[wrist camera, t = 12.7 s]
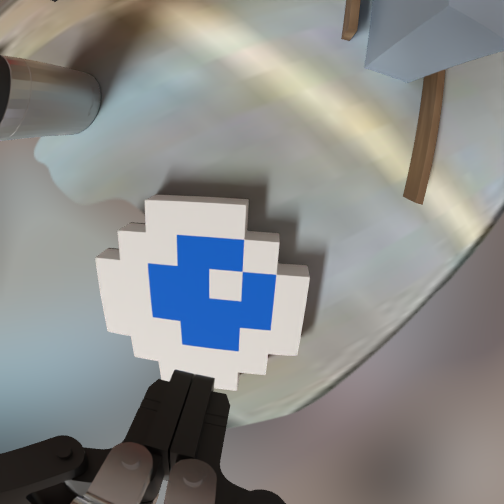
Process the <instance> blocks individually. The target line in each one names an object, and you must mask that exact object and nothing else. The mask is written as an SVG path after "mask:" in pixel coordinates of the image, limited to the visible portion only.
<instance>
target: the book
mask: <svg viewBox="0 0 504 504" xmlns="http://www.w3.org/2000/svg"><path fill="white" fill-rule="evenodd" d="M501 51H504V0H373V2H372V12H371V21H370V30H369V38H368V45H367V53H366V60H365V67H364V68H366V69H370V70H373V71H376V72H379V73H382V74H385V75H388V76H390V77H393V78H396V79H399V80H401V81H404V82H407V83H409V82H412V81H414V80H417V79H420V78H422V77H425V76H428V75H430V74H433V73H436V72H439V71H441V70H444V69H447V68H450V67H453V66H456V65H459V64H462V63H465V62H468V61H471V60H474V59H478V58H481V57H484V56H487V55H491V54H494V53H498V52H501Z"/></svg>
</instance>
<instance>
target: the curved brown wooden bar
mask: <svg viewBox="0 0 504 504" xmlns="http://www.w3.org/2000/svg"><path fill="white" fill-rule="evenodd" d="M359 9H360V0H346V8H345V16H344V24H343V31H342V38H341V39H344V40H348V41H350V39H351V38H352V37H353V35H354V34H355V33H356V31H357V27H358V19H359ZM444 79H445V69H444V70H441V71H439V72H436V73H433V74H430V75H428V76H425V77H424V81H423V90H422V98H421V105H420V112H419V119H418V125H417V131H416V137H415V142H414V148H413V153H412V158H411V163H410V168H409V172H408V177H407V181H406V185H405V190H404V194H403V197H405V198H407V199H409V200H411V201H413V202H415V203H418V204H422V205H423V201H424V197H425V193H426V188H427V184H428V180H429V175H430V171H431V166H432V161H433V156H434V151H435V145H436V140H437V134H438V128H439V121H440V114H441V107H442V98H443V89H444Z"/></svg>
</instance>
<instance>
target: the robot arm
mask: <svg viewBox="0 0 504 504" xmlns="http://www.w3.org/2000/svg"><path fill="white" fill-rule="evenodd" d="M100 101H101V92H100V87H99V84H98V82H97V81H96V79H95V78H94V77H93V76H92V75H90V74H88V73H85V72H81V71H77V70H73V69H69V68H65V67H61V66H56V65H52V64H47V63H43V62H38V61H33V60H27V59H22V58H15V57H9V56H3V55H0V141H5V140H13V139H22V138H32V137H43V136H58V135H74V134H78V133H80V132H82V131H84V130H85V129H86V128H87V127H88V126H89V125H90V124H91V123H92V122H93V120H94V118H95V117H96V115H97V112H98V110H99V106H100ZM214 382H215V378H213V377H208V376H203V375H198V374H195V375H194V374H193V373H189V372H185V371H180V370H176V369H175V370H174V372H173V374H172V376H171V379H170V381H169V382H168V381H165V380H161V379H158V380H157V381H156V382H154V383H153V384H152V385H151V386H150V387H149V388H148V390H147V392H146V394H145V397H144V399H143V401H142V403H141V405H140V408H139V409H138V411H137V413H136V416H135V418H134V420H133V422H132V424H131V427H130V429H129V431H128V433H127V435H126V437H125V439H124V441H123V442H122V443H120V444H118V445H116V446H114V447H113V448H111V449H104V450H103V449H92V448H83V447H82V445H81V444H80V443H79V442H78V441H77V440H76V439H74V438H72V437H69V436H56V437H53V438H50V439H47V440H45V441H41V442H39V443H35V444H32V445H29V446H26V447H23V448H19V449H16V450H13V451H9V452H6V453H2V454H0V504H155V503H156V501H157V499H158V496H159V490H160V487H161V484H162V481H163V480H166V481H168V484H167V490H166V495H165V500H164V504H286V503H284V501H283V500H282V499H281V498H280V497H279V496H278V495H276V494H275V493H273V492H270V491H267V490H253V491H248V490H246V489H243V488H241V487H239V486H237V485H235V484H233V483H231V482H230V481H228V480H227V479H226V478H225V477H224V475H223V474H222V472H221V469H220V459H221V453H222V447H223V442H224V436H225V431H226V425H227V420H228V414H229V409H230V404H229V401H228V398H227V395H226V394H223V393H218V392H213V390H214Z"/></svg>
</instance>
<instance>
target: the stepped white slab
mask: <svg viewBox="0 0 504 504" xmlns="http://www.w3.org/2000/svg"><path fill="white" fill-rule="evenodd" d="M248 207H249V199H237V198H221V197H202V196H181V195H154V196H152V197H150V198H148V199H146V200H145V223H134V222H131V223H129V224H127V225H126V226H124V227H123V228H121V229H119V230H118V242H119V249H117V248H108V249H106V250H105V251H104V252H102V253H101V254H100V255H98V256H97V257H95V259H96V267H97V274H98V280H99V287H100V293H101V299H102V305H103V310H104V315H105V320H106V325H107V330H108V332H113V333H118V334H123V335H128V336H131V340H132V345H133V350H134V355H135V357H139V358H144V359H149V360H155V361H159V367H160V373H161V379H162V380H165V381H170V379H171V376H172V374H173V372H174V370H175V369H176V370H180V371H185V372H189V373H193V374H194V375H195V374H198V375H203V376H208V377H213V378H215V382H214V388H217V389H226V390H234V391H237V388H238V382H239V376H240V373H250V374H261V375H266V367H267V358H268V354H274V355H289V356H297V353H298V348H299V342H300V337H301V331H302V325H303V319H304V313H305V307H306V300H307V294H308V287H309V280H310V275H309V271H308V267H307V265H294V264H281V263H278V254H279V243H280V242H279V233H269V232H256V231H247V225H248Z"/></svg>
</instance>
